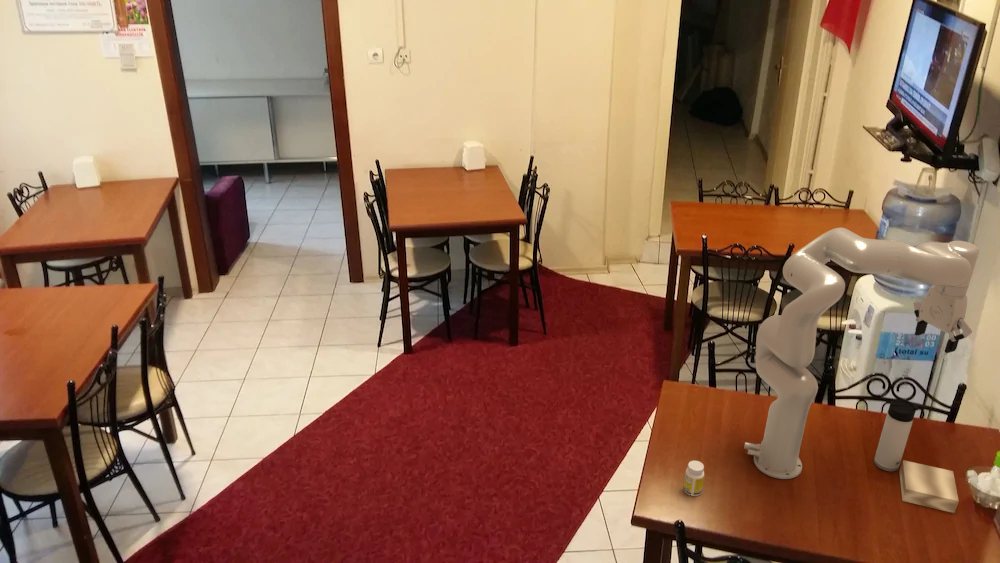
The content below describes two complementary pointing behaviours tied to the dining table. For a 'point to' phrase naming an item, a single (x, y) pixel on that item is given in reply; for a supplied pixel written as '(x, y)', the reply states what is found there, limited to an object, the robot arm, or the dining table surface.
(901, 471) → the plinth
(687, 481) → the supplement bottle
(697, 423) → the dining table surface
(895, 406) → the travel mug
